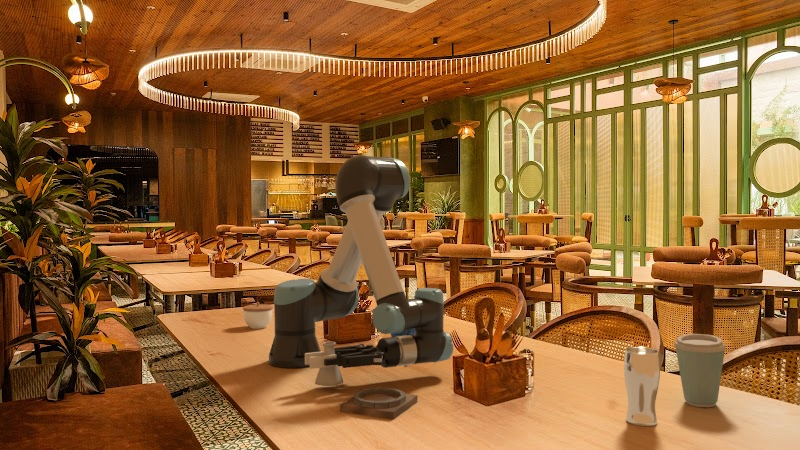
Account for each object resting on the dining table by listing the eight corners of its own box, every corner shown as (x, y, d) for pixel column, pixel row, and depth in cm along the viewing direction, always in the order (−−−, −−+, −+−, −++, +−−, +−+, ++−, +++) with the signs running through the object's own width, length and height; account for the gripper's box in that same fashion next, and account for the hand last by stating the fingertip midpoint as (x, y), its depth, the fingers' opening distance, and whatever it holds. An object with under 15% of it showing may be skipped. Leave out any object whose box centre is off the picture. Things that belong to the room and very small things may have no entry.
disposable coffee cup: (722, 413, 140) (723, 344, 139) (669, 405, 145) (669, 339, 145) (727, 400, 149) (728, 335, 148) (677, 393, 154) (677, 331, 154)
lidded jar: (279, 326, 242) (278, 301, 242) (258, 331, 233) (257, 305, 233) (258, 323, 248) (257, 299, 248) (237, 328, 239) (236, 302, 239)
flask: (338, 388, 156) (338, 346, 155) (310, 386, 157) (310, 345, 157) (347, 379, 163) (347, 340, 162) (320, 378, 164) (320, 338, 164)
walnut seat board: (340, 411, 143) (340, 399, 143) (367, 395, 155) (367, 384, 155) (393, 419, 138) (393, 406, 137) (417, 401, 149) (417, 390, 149)
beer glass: (618, 416, 138) (618, 346, 138) (649, 415, 139) (650, 345, 138) (632, 427, 131) (633, 354, 131) (665, 426, 132) (666, 353, 131)
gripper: (409, 373, 160) (318, 385, 150) (383, 358, 175) (298, 368, 165) (409, 343, 160) (318, 353, 150) (383, 331, 175) (298, 338, 165)
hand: (307, 360), depth 158 cm, fingers closed on flask, 3 cm apart
